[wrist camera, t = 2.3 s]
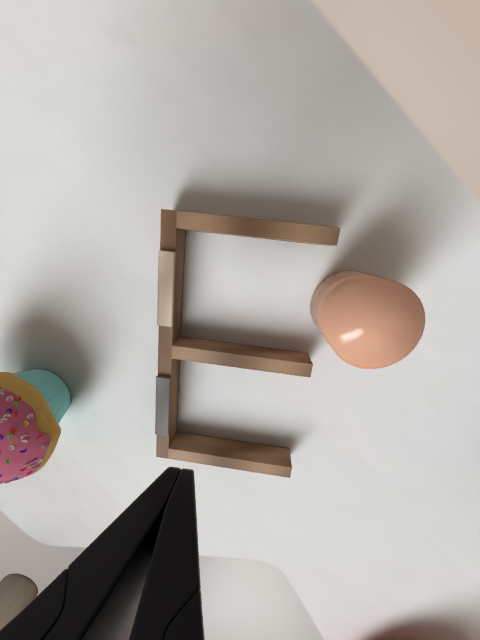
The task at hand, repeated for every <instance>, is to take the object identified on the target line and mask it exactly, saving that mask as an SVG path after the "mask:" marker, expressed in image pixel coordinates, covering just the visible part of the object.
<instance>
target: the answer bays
mask: <svg viewBox="0 0 480 640" xmlns="http://www.w3.org/2000/svg"><path fill="white" fill-rule="evenodd" d="M186 230H189V231H198V232H208V233H217V234H226V235H235V236H245V237H254V238H263V239H272V240H282V241H291V242H300V243H309V244H319V245H328V246H330V245H337V242H338V237H339V232H340V228H338V227H328V226H319V225H309V224H300V223H290V222H280V221H271V220H261V219H252V218H242V217H232V216H223V215H213V214H204V213H194V212H185V211H175V210H165V209H161V242H160V251H159V252H158V309H157V325H159V345H158V376H157V377H156V423H155V434H157V448H156V457H161V458H168V459H174V460H181V461H187V462H193V463H200V464H206V465H212V466H219V467H225V468H231V469H238V470H244V471H250V472H257V473H263V474H269V475H276V476H282V477H289V478H290V474H291V469H292V465H291V458H290V450H289V449H287V448H281V447H274V446H268V445H261V444H254V443H248V442H241V441H235V440H228V439H221V438H215V437H208V436H202V435H195V434H188V433H182V432H177V409H178V387H179V365H180V360H186V361H194V362H201V363H208V364H216V365H223V366H230V367H238V368H245V369H252V370H260V371H267V372H274V373H282V374H289V375H296V376H304V377H310V376H311V371H312V366H313V364H312V362H311V359H310V357H309V355H308V353H302V352H295V351H287V350H279V349H272V348H264V347H256V346H249V345H241V344H234V343H226V342H218V341H211V340H203V339H195V338H188V337H181V320H182V298H183V275H184V253H185V231H186Z"/></svg>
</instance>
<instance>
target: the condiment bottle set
mask: <svg viewBox="0 0 480 640" xmlns="http://www.w3.org/2000/svg"><path fill="white" fill-rule="evenodd" d="M37 593H38V589H37V586H36V584H35V583H34V582H33V581H32V580H31V579H30V578H28V577H26V576H24V575H22V574H9V575H7V576H6V577H4V578H3V579H2V581H1V582H0V630H1V629H2V628H3V627H4V626H5V625H6V624H8V623H9V622H10V621H11V620H12V619H13V618H14V617H15V616H17V615H18V614H19V613H20V612H21V611H22V610H23V609H24V608H25V607H27V606H28V605H29V604H30V603H31V602H32V601H33V600H34V599H35V598H36V596H37Z"/></svg>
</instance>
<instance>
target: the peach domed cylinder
mask: <svg viewBox="0 0 480 640" xmlns="http://www.w3.org/2000/svg"><path fill="white" fill-rule="evenodd" d="M310 312H311V317H312V319H313V322H314V323H315V325H316V326H317V328H318V329H319V331H320V332H321V333H322V335H323V336H324V338H325V339H326V340H327V342H328V343H329V345H330V346H331V347H332V349H333V350H334V352H335V353H336V354H337V355H338V356H339V357H340V358H341V359H342V360H343V361H345V362H346V363H348V364H350V365H352V366H355V367H359V368H364V369H377V368H383V367H387V366H390V365H392V364H394V363H396V362H398V361H400V360H402V359H403V358H405V357H406V356H407V355H408V354H409V353H410V352H411V351H412V350H413V349H414V348H415V346H416V345H417V344H418V342H419V340H420V339H421V336H422V334H423V331H424V326H425V312H424V308H423V305H422V303H421V301H420V299H419V298H418V296H417V295H416V294H415V293H414V292H413V291H412V290H411V289H410V288H408V287H407V286H405V285H403V284H401V283H398V282H395V281H392V280H388V279H384V278H380V277H376V276H372V275H368V274H364V273H360V272H356V271H342V272H338V273H335V274H333V275H331V276H329V277H327V278H326V279H325V280H323V281H322V282H321V283H320V284H319V285H318V287H317V288H316V290H315V291H314V293H313V296H312V299H311V304H310Z"/></svg>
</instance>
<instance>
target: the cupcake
mask: <svg viewBox="0 0 480 640" xmlns="http://www.w3.org/2000/svg"><path fill="white" fill-rule="evenodd" d="M70 401H71V397H70V392H69V389H68V387H67V386H66V384H65V383H64V381H63V380H62V379H61V378H60V377H58V376H57V375H56V374H54V373H52V372H50V371H47V370H43V369H34V370H29V371H25V372H19V373H9V372H0V484H2V483H3V482H4V483H9V482H11V481H14V480H18V479H21V478H24V477H26V476H29V475H31V474H33V473H35V472H37V471H38V470H40V469H41V468H42V467H43V466H44V465H45V464H46V462H47V461H48V459H49V458H50V456H51V455H52V453H53V451H54V449H55V447H56V444H57V441H58V439H59V436H60V433H61V428H60V426H59V425H58V424H59V422H60V420H61V419H62V417H63V416H64V414H65V412H66V411H67V409H68V408H69V405H70Z"/></svg>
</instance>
